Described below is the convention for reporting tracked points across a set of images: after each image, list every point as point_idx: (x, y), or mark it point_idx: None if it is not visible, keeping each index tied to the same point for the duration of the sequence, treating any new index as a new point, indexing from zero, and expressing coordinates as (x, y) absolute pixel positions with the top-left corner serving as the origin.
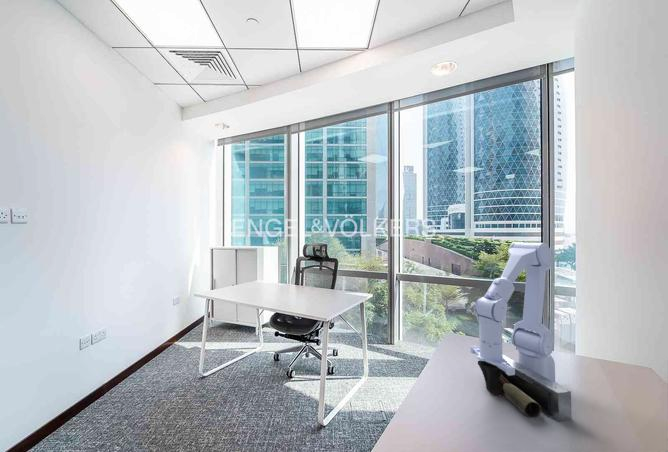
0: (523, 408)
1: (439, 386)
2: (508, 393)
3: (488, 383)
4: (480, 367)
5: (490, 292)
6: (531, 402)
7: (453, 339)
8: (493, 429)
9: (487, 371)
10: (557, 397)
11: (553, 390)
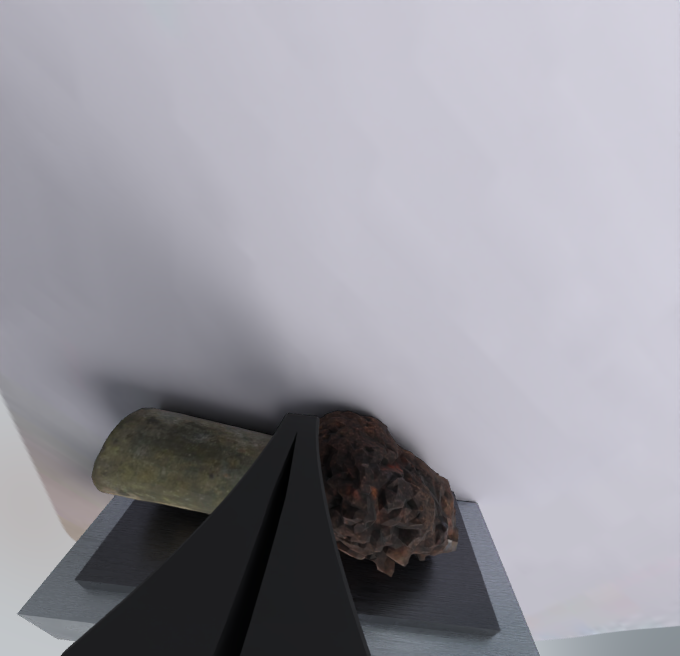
0: (129, 425)
1: (605, 150)
2: (237, 460)
3: (279, 445)
4: (338, 606)
5: None
6: (98, 480)
7: None
8: (31, 161)
9: (176, 605)
10: (50, 578)
11: (46, 617)
